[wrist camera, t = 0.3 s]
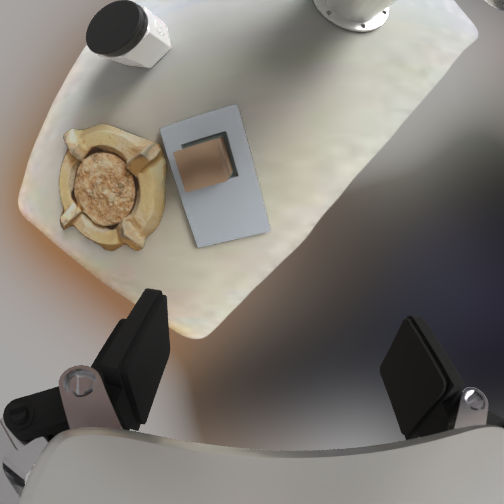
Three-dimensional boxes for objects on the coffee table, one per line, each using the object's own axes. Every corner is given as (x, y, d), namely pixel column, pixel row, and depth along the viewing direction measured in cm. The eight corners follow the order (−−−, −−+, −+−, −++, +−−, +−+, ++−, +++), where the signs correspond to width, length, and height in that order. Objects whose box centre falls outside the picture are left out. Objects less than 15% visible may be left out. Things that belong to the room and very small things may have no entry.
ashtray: (97, 92, 37) (81, 90, 32) (200, 171, 43) (193, 176, 38) (45, 198, 45) (30, 205, 40) (129, 270, 51) (118, 284, 46)
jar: (175, 59, 35) (145, 40, 24) (128, 77, 36) (88, 67, 25) (166, 15, 31) (137, -13, 20) (121, 33, 32) (83, 15, 21)
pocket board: (162, 128, 39) (159, 128, 38) (237, 104, 38) (236, 103, 36) (200, 244, 47) (197, 248, 46) (270, 227, 46) (270, 231, 44)
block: (188, 147, 40) (173, 152, 33) (223, 136, 39) (214, 139, 32) (199, 180, 42) (185, 192, 35) (233, 171, 42) (226, 181, 34)
